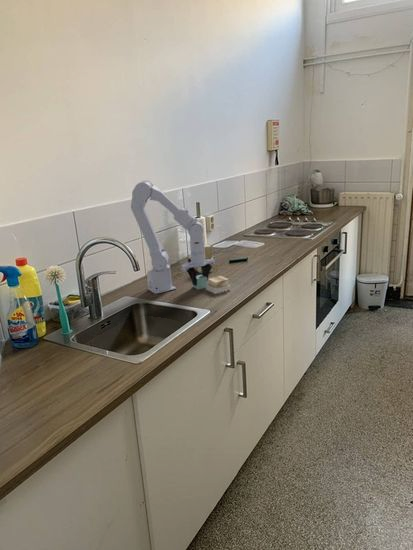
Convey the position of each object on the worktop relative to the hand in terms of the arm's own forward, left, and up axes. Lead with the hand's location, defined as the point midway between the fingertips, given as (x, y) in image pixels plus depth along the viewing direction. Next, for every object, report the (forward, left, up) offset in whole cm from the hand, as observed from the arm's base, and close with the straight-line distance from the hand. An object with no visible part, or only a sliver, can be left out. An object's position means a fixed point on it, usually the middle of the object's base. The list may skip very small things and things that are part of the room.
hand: (200, 283), depth 172 cm
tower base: (+4, -8, -2) cm, 9 cm away
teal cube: (0, 0, -1) cm, 1 cm away
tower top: (+4, -8, +1) cm, 9 cm away
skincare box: (+13, +18, -2) cm, 22 cm away
